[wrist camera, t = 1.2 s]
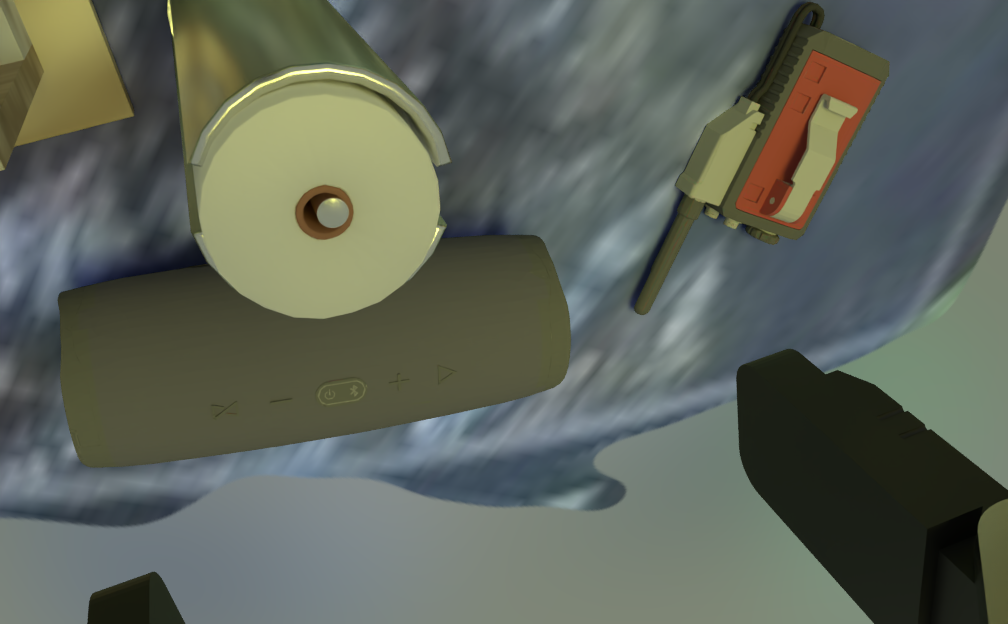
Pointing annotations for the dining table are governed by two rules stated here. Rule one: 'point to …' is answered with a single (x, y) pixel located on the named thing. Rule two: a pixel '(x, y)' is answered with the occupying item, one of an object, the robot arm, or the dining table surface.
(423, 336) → the bluetooth speaker
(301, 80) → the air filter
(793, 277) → the dining table surface
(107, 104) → the collar stand
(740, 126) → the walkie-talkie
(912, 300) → the dining table surface
